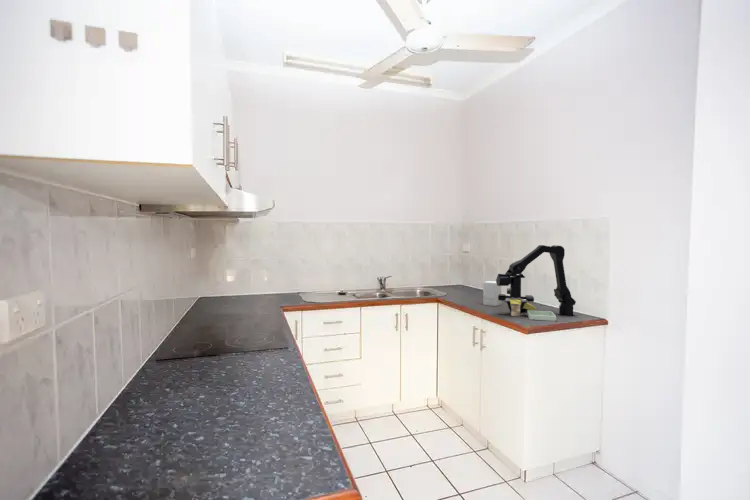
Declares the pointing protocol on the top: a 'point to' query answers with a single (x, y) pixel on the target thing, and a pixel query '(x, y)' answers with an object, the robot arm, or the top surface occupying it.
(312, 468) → the top surface
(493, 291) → the supplement box
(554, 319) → the tray
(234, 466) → the top surface
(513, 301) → the plastic component
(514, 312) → the beech block
